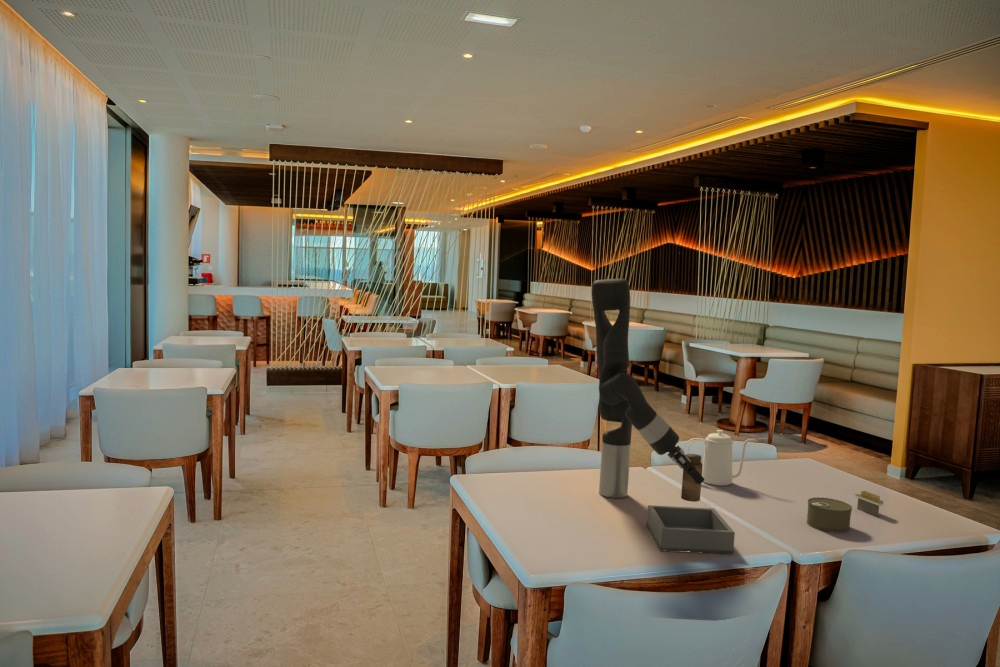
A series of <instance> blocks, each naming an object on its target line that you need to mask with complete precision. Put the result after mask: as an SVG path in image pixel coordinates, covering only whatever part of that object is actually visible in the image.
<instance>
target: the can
mask: <svg viewBox="0 0 1000 667" xmlns="http://www.w3.org/2000/svg"><path fill="white" fill-rule="evenodd" d="M852 510H853V507H852V505H851V504H849V503H847V502H845V501H841V500H838V499H834V498H829V497H811V498H809V499H807V515H806V516H807V518H806V524H807V525H808V526H809V527H811V528H813V529H815V530H818V531H821V532H825V533H831V532H833V533H832V534H845V533H847V531H848V532H849V531H850V525H851V515H852ZM844 532H845V533H844Z"/></svg>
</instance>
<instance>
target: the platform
mask: <svg viewBox="0 0 1000 667" xmlns="http://www.w3.org/2000/svg"><path fill="white" fill-rule="evenodd" d="M853 496H854V497H855V498H857V507H856V509H857V510H859V511H861V512H863V513H866V514H868V515H870V516H873V517H875V518H876V517H877V518H879V513H880V507H881V506H882V507H883V506H884V501H883V500H881V499H880V498H881V496H880V495H878V494H875V493H872V492H869V491H867V490H862V491H861V492H860V493H855V494H854V495H853Z"/></svg>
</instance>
